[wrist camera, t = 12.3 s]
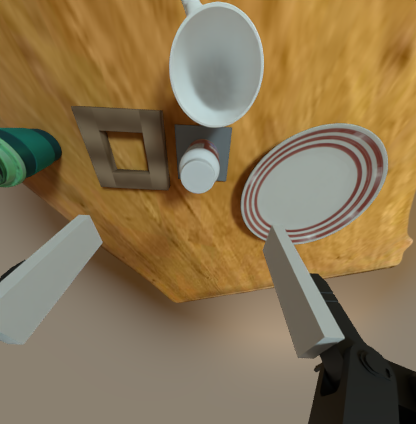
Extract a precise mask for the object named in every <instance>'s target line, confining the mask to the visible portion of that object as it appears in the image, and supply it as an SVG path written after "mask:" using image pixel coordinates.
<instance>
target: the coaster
mask: <svg viewBox="0 0 416 424" xmlns="http://www.w3.org/2000/svg"><path fill="white" fill-rule="evenodd" d="M231 133H232V128H231V127H217V128H212V127H206V126H193V125H175V136H176V151H177V165H178V179H181V177H180V172H179V164H180V161H181V158H182V157H183V155H184V153H185V152H186V150H187V149H188V147H189V145H190V144H191V143H192V142H194V141H196V140H198V139H206V140H209V141H211V142H212V143H213V144H214V145H215V146H216V148H217V150H218V154H219V165H220V171H219V176H218V178H217V180H216V181H226V176H227V167H228V159H229V150H230V142H231Z"/></svg>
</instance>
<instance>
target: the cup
mask: <svg viewBox="0 0 416 424" xmlns="http://www.w3.org/2000/svg"><path fill="white" fill-rule="evenodd" d="M61 153H62V151H61V147H60V145H59V143H58V142H57V140H56V139H55V138H54V137H53V136H52V135H50V134H49V133H47V132H45V131H43V130H40V129H27V128H0V187H12V186H15V185H18V184H20V183H22V182H23V181H24V179H25V178H27V177H30V176H32V175H34V174H36V173H37V172H39V171H41V170H42V169H44V168H46V167H47V166H49V165H51V164H52V163H53V162H54V161H56V160H58V159H59V158H60V156H61Z"/></svg>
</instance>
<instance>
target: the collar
mask: <svg viewBox="0 0 416 424" xmlns="http://www.w3.org/2000/svg"><path fill="white" fill-rule="evenodd" d="M71 108H72V111H73V114H74V116H75V119H76V122H77V124H78V127H79V129H80V132H81V135H82V137H83V140H84V143H85V145H86V148H87V151H88V153H89V156H90V158H91V161H92V164H93V166H94V169H95V172H96V174H97V177H98V180H99V182H100V185H101V187H115V188H134V189H153V190H168V189H169V187H170V179H169V169H168V160H167V150H166V140H165V130H164V121H163V111H162V110H143V109H124V108H105V107H86V106H71ZM106 131H119V132H138V133H143V138H144V144H145V149H146V155H147V161H148V166H149V171H144V170H124V169H117V167H116V164H115V160H114V157H113V154H112V150H111V147H110V143H109V140H108V137H107V133H106Z"/></svg>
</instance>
